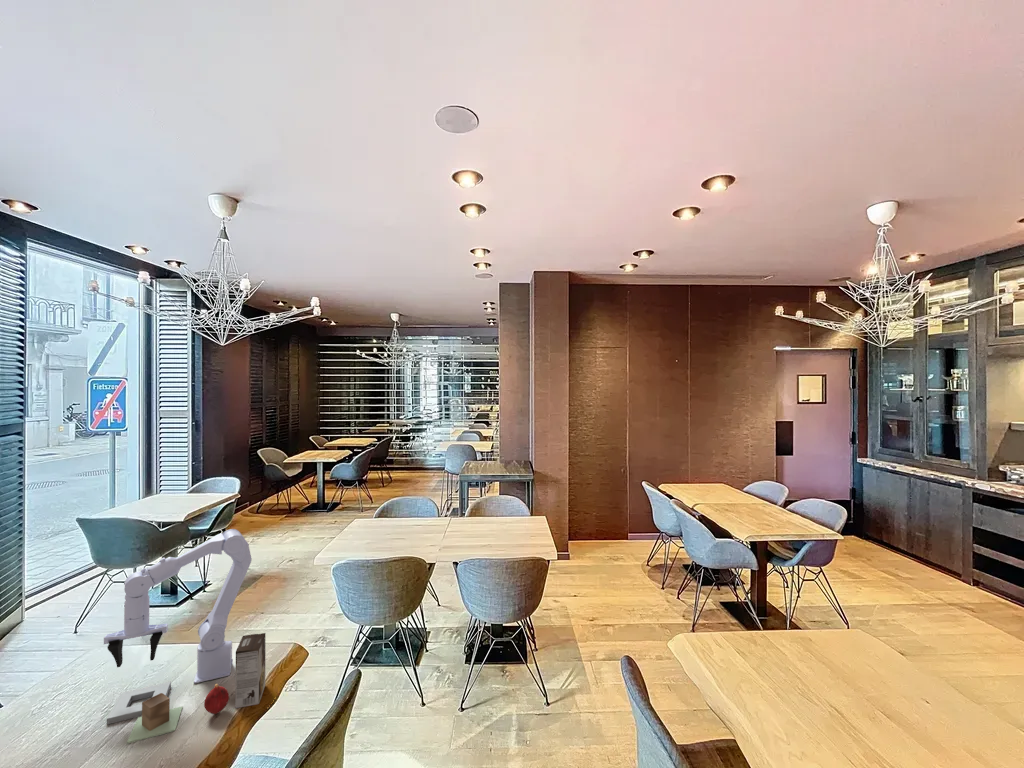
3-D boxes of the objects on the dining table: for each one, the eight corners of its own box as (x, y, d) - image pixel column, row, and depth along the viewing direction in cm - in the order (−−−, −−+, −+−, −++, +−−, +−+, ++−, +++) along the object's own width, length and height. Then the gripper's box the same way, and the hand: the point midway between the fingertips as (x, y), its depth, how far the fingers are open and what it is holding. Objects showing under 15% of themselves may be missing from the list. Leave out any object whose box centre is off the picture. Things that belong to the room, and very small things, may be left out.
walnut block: (161, 714, 128) (161, 692, 128) (169, 720, 125) (169, 698, 125) (141, 724, 124) (142, 702, 124) (149, 731, 121) (150, 708, 121)
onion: (233, 709, 130) (234, 680, 131) (214, 722, 125) (215, 693, 125) (218, 704, 132) (218, 676, 132) (199, 717, 127) (199, 688, 127)
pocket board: (170, 686, 140) (170, 681, 140) (161, 710, 130) (161, 705, 130) (120, 697, 135) (120, 692, 135) (106, 724, 124) (106, 718, 124)
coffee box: (242, 689, 139) (242, 635, 139) (266, 685, 141) (266, 631, 141) (234, 709, 130) (234, 651, 131) (259, 704, 132) (260, 647, 133)
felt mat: (182, 707, 131) (182, 706, 131) (175, 731, 122) (175, 729, 122) (138, 718, 127) (138, 717, 127) (127, 743, 118) (127, 742, 118)
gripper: (170, 604, 142) (169, 648, 142) (109, 614, 136) (109, 661, 136) (164, 614, 136) (164, 661, 136) (101, 625, 129) (100, 674, 129)
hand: (136, 662), depth 135 cm, fingers open, 7 cm apart
